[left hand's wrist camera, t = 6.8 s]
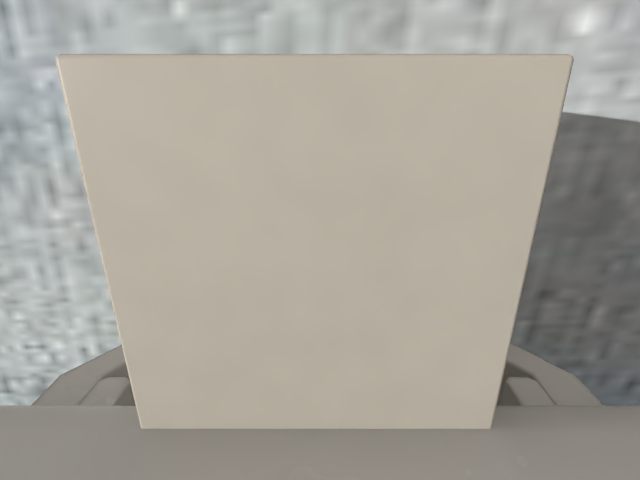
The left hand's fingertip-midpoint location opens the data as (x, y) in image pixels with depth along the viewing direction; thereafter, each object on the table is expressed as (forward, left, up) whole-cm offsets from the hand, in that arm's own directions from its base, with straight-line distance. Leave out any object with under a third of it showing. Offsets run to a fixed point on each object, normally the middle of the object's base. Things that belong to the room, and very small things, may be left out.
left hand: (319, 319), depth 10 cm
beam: (+20, +9, -3) cm, 22 cm away
